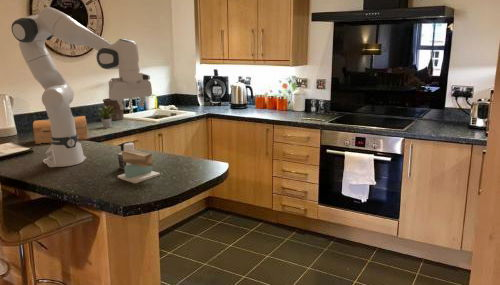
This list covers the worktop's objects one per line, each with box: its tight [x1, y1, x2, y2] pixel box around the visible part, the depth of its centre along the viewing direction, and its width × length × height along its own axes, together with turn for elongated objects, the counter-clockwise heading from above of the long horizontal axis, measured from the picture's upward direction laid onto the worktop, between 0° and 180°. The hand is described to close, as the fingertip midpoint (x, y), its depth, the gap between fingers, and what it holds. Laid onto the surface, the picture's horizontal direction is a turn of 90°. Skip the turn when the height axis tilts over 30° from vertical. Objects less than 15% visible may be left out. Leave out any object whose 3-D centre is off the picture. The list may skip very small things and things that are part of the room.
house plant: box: [97, 104, 116, 129], centre depth 298 cm, size 14×14×16 cm
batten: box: [121, 149, 153, 167], centre depth 183 cm, size 4×16×5 cm, turn 50°
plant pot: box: [102, 97, 125, 122], centre depth 331 cm, size 16×16×16 cm
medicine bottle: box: [117, 141, 135, 171], centre depth 198 cm, size 7×7×12 cm
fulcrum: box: [117, 164, 161, 184], centre depth 184 cm, size 13×13×6 cm
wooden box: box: [32, 115, 89, 145], centre depth 265 cm, size 30×16×14 cm, turn 110°
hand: (132, 108), depth 188 cm, fingers open, 8 cm apart
